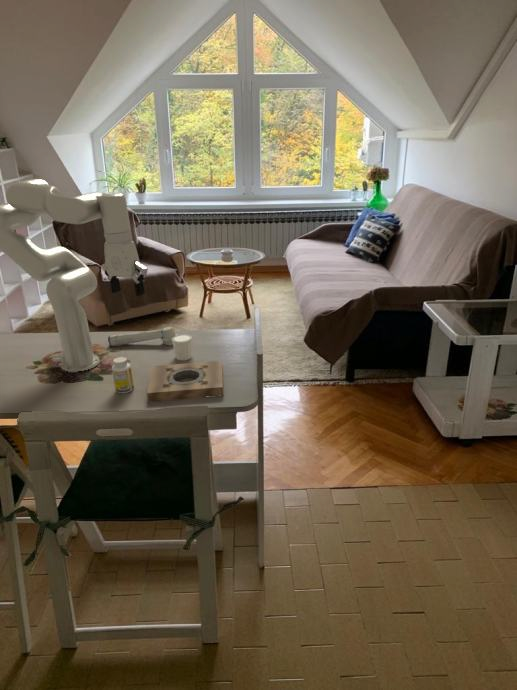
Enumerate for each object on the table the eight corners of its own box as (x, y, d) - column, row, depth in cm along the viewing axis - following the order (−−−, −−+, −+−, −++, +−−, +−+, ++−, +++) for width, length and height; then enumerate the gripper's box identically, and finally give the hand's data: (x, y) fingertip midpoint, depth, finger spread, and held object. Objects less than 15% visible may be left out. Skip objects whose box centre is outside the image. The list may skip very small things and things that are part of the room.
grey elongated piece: (110, 333, 201) (176, 321, 199) (115, 349, 204) (180, 338, 202) (106, 338, 197) (173, 327, 194) (111, 355, 199) (178, 344, 197)
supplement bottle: (126, 383, 172) (121, 354, 167) (138, 388, 168) (133, 358, 164) (112, 390, 168) (106, 360, 164) (123, 396, 164) (117, 365, 160)
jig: (148, 402, 160) (146, 393, 159) (154, 374, 177) (153, 366, 175) (223, 396, 161) (222, 387, 160) (222, 369, 178) (221, 360, 176)
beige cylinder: (195, 352, 191) (193, 333, 188) (191, 361, 184) (189, 342, 182) (176, 352, 191) (174, 334, 189) (171, 361, 185) (169, 342, 182)
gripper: (87, 238, 161) (98, 294, 168) (132, 241, 152) (141, 300, 159) (106, 233, 167) (116, 287, 173) (150, 235, 158) (158, 292, 165)
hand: (128, 293), depth 166 cm, fingers open, 9 cm apart
